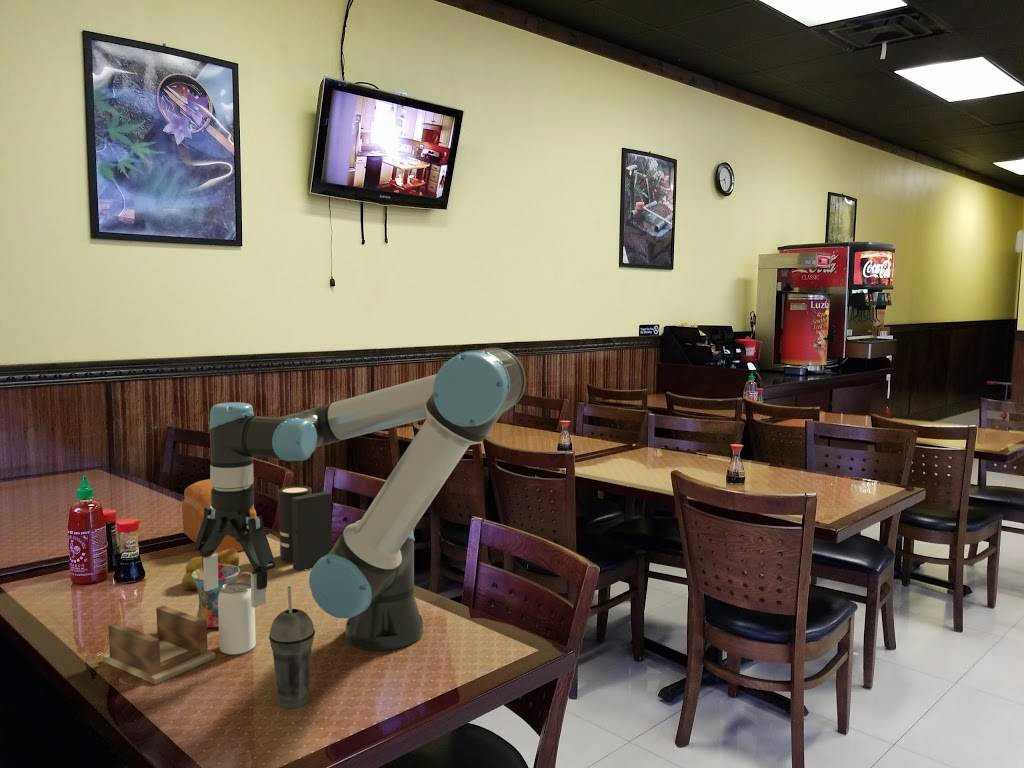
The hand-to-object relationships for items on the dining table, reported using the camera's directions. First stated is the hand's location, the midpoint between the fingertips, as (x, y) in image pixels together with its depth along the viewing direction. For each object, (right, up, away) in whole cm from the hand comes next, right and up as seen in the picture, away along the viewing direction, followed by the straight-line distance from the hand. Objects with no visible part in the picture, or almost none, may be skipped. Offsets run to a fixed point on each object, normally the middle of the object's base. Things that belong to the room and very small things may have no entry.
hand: (234, 596), depth 148 cm
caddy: (-12, -10, -4) cm, 17 cm away
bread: (-28, -3, +67) cm, 72 cm away
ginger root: (-18, -7, +35) cm, 40 cm away
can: (0, -10, +1) cm, 10 cm away
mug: (-7, -9, +14) cm, 18 cm away
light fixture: (-1, -5, +51) cm, 51 cm away
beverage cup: (+16, -12, -18) cm, 28 cm away
